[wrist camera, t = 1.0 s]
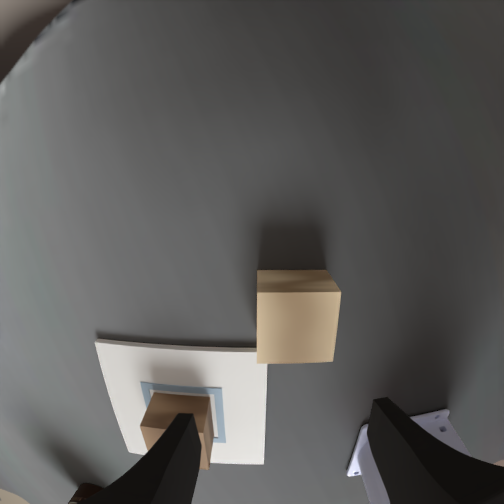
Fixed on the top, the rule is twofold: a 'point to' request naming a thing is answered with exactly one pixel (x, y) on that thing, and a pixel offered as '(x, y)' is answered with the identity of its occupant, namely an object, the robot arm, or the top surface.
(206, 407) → the walnut block
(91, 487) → the coffee mug
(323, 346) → the maple block
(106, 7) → the top surface
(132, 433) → the board
